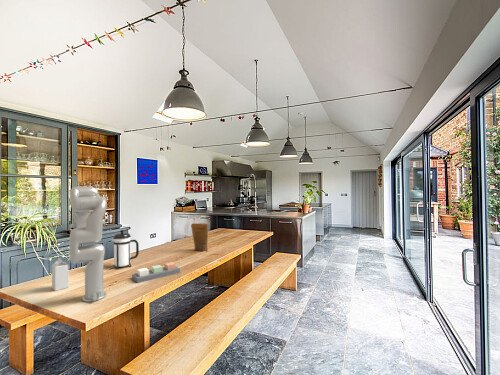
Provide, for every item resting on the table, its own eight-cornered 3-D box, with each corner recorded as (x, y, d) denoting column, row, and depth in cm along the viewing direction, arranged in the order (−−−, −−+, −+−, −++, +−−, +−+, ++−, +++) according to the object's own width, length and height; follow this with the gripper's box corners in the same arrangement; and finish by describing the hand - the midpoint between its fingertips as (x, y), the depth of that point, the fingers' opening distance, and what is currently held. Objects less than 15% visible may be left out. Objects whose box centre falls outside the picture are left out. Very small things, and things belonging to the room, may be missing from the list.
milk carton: (65, 285, 172) (64, 256, 172) (68, 287, 167) (68, 258, 167) (52, 288, 166) (51, 259, 166) (55, 291, 162) (54, 261, 162)
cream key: (148, 276, 182) (148, 269, 182) (140, 278, 178) (139, 271, 178) (145, 274, 187) (145, 267, 187) (137, 276, 183) (137, 269, 183)
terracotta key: (175, 270, 195) (175, 263, 195) (167, 272, 191) (167, 265, 191) (172, 268, 200) (171, 262, 200) (164, 270, 196) (164, 263, 196)
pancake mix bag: (206, 252, 252) (206, 224, 252) (190, 250, 260) (190, 223, 260) (210, 250, 258) (209, 223, 258) (194, 249, 266) (194, 222, 266)
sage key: (162, 273, 189) (162, 266, 189) (154, 275, 185) (154, 268, 185) (159, 271, 193) (159, 264, 193) (151, 273, 189) (151, 266, 189)
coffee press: (125, 270, 201) (125, 232, 201) (107, 268, 205) (107, 231, 204) (139, 263, 218) (138, 228, 218) (122, 262, 221) (122, 227, 221)
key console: (180, 272, 195) (180, 268, 195) (137, 283, 174) (137, 278, 174) (173, 268, 204) (173, 265, 204) (132, 278, 183) (132, 274, 183)
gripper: (70, 213, 177) (70, 238, 177) (98, 211, 189) (98, 234, 190) (67, 212, 182) (68, 236, 182) (95, 210, 195) (95, 233, 195)
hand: (83, 235), depth 186 cm, fingers open, 9 cm apart
